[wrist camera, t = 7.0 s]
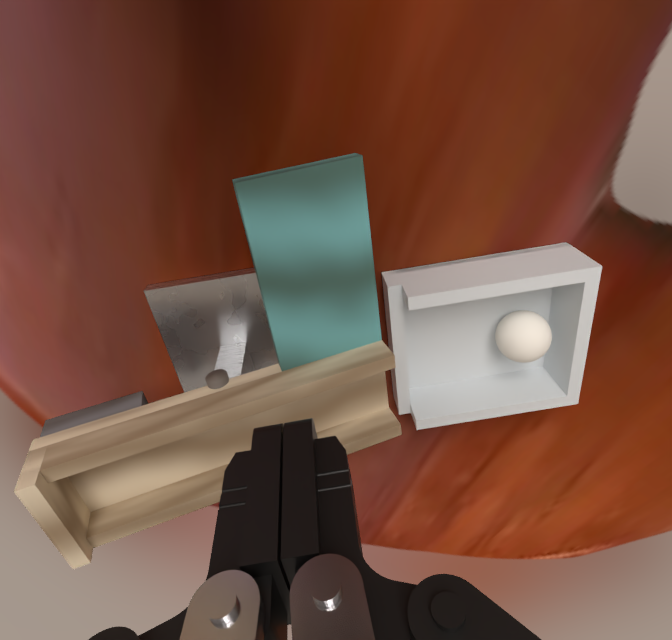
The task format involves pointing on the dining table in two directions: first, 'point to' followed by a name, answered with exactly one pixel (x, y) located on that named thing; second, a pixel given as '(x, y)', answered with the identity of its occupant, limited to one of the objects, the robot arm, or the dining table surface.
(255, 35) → the dining table surface
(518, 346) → the ball
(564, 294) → the tray
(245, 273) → the lever stand
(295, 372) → the lever
